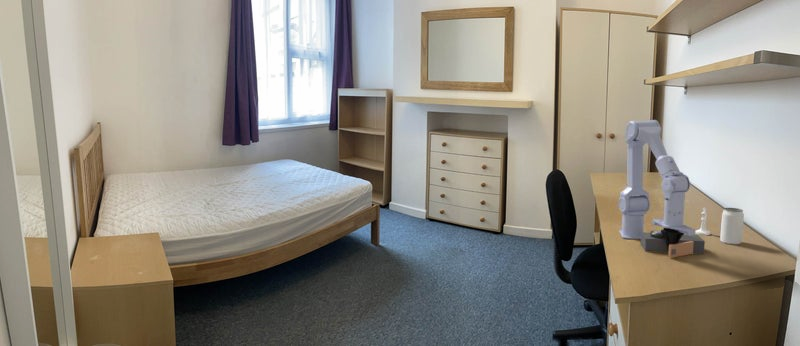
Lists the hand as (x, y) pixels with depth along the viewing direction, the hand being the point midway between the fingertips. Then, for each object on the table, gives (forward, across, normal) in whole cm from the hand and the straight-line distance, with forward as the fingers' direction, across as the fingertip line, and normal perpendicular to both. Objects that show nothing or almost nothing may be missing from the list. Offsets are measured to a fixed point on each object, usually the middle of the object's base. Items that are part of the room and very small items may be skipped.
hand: (671, 250), depth 166 cm
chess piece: (+2, -12, +31) cm, 34 cm away
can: (+2, -1, +30) cm, 30 cm away
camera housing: (+2, -4, +5) cm, 7 cm away
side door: (+1, +2, +2) cm, 3 cm away
